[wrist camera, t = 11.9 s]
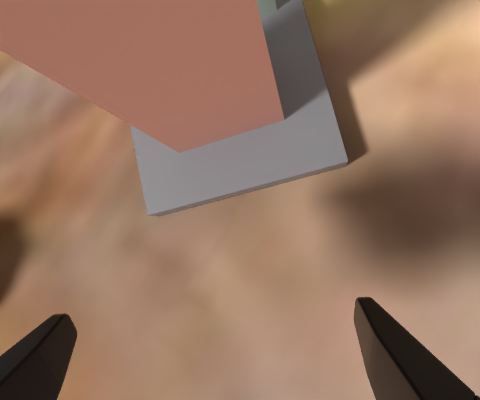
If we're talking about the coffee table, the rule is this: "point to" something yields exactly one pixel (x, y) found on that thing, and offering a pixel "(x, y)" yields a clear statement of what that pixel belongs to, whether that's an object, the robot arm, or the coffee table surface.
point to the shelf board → (254, 132)
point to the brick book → (153, 62)
